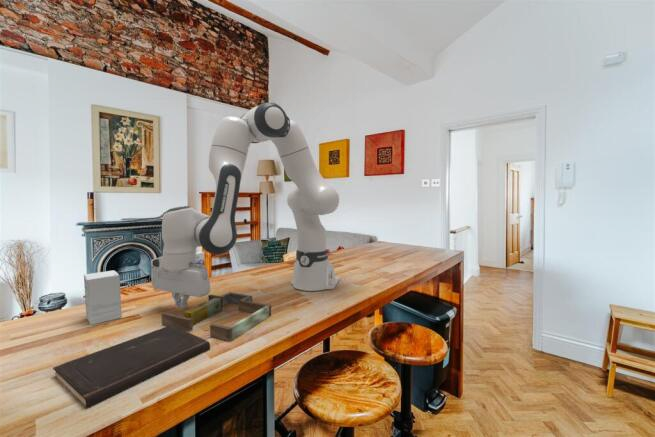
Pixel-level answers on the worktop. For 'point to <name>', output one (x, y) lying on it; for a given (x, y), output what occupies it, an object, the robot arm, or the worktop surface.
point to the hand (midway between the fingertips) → (181, 306)
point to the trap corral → (226, 332)
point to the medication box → (204, 310)
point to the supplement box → (102, 296)
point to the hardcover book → (128, 363)
